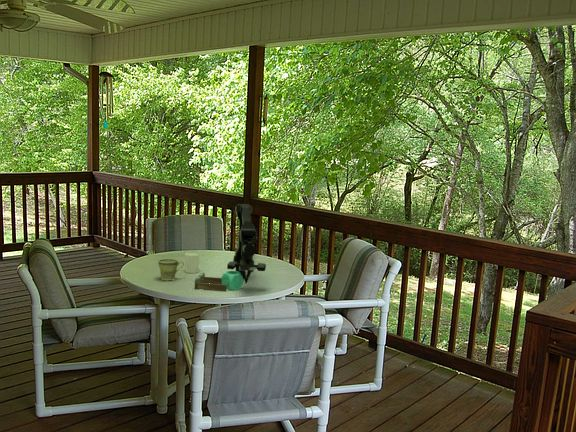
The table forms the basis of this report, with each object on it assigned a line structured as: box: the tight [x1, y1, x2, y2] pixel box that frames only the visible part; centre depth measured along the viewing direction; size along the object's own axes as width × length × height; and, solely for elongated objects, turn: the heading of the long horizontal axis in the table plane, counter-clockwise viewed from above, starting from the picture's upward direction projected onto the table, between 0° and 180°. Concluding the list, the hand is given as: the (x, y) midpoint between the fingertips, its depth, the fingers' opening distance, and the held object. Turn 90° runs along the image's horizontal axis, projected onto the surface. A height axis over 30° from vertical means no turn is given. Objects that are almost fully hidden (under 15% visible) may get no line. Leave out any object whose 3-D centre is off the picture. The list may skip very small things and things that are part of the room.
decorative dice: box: [221, 270, 245, 291], centre depth 276 cm, size 8×8×8 cm
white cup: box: [184, 252, 200, 274], centre depth 305 cm, size 8×8×10 cm
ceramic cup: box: [157, 258, 185, 281], centre depth 287 cm, size 13×10×10 cm
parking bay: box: [194, 272, 227, 292], centre depth 277 cm, size 14×16×5 cm
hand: (246, 283), depth 276 cm, fingers closed
